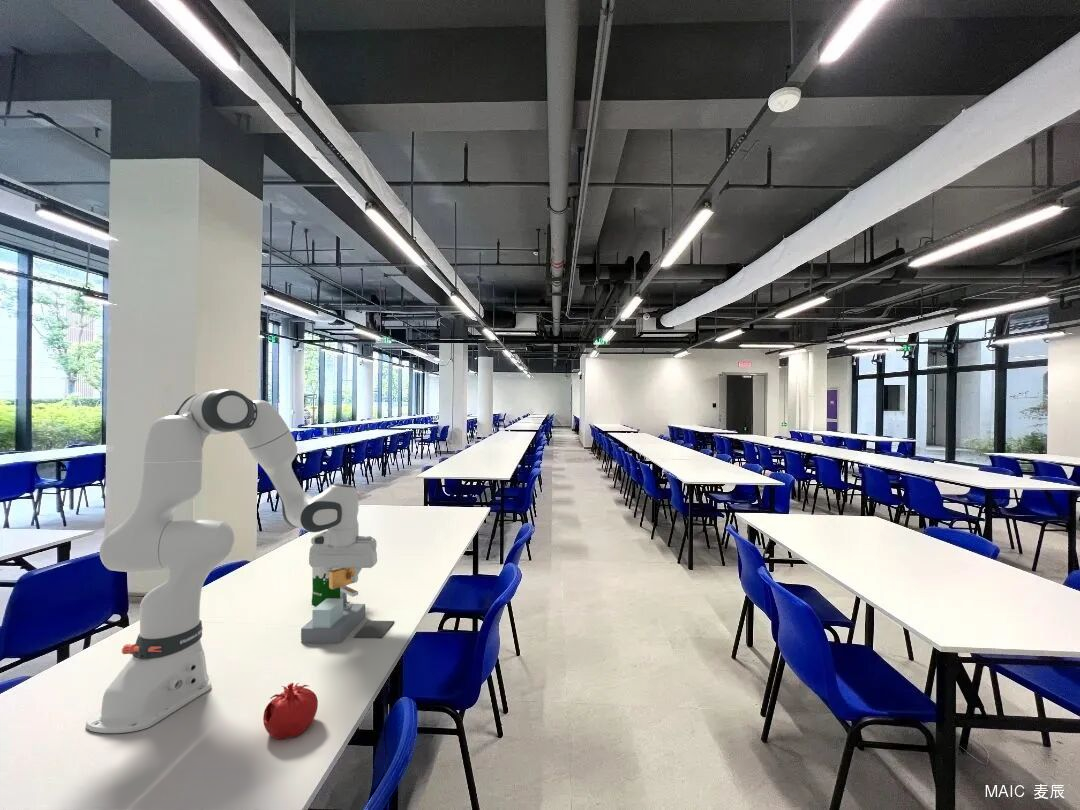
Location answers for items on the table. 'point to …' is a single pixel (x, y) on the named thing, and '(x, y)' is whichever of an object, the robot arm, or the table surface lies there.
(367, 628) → the mat
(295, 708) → the pomegranate
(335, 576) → the key
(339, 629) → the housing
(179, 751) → the table surface
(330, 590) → the milk carton
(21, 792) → the table surface
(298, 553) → the table surface
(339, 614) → the pale blue block
